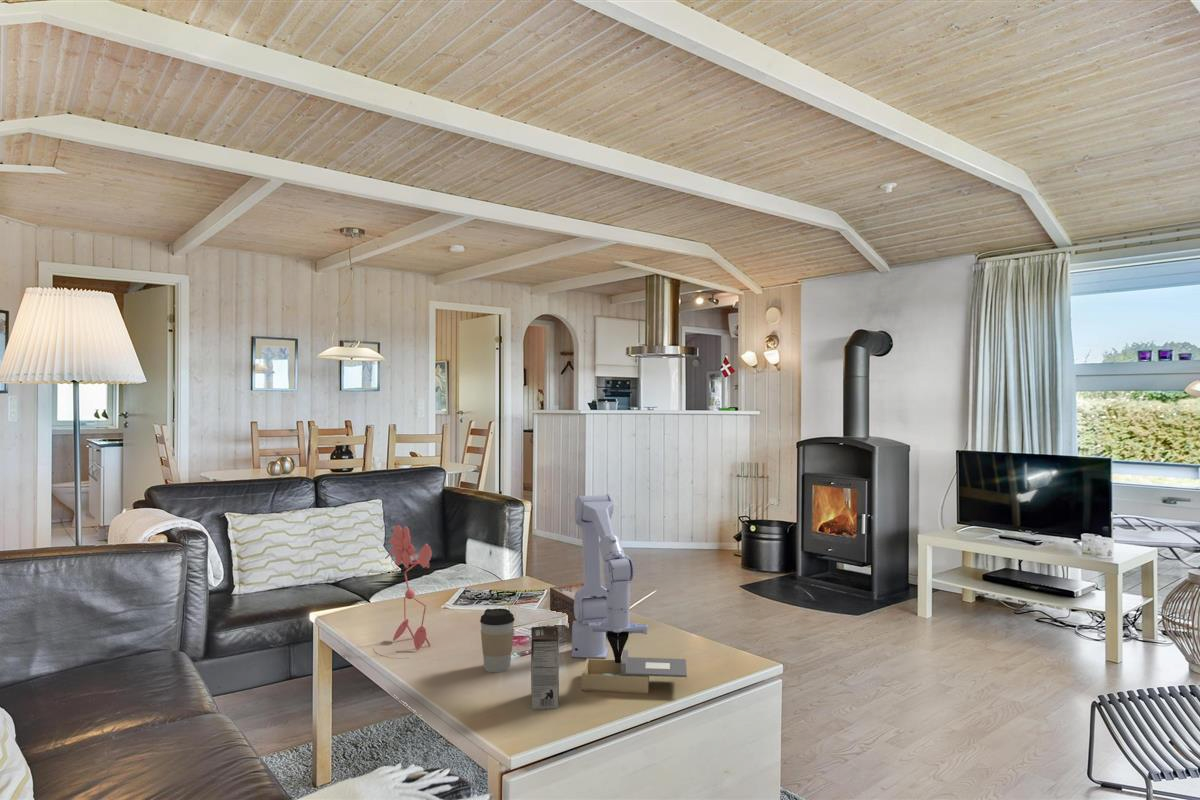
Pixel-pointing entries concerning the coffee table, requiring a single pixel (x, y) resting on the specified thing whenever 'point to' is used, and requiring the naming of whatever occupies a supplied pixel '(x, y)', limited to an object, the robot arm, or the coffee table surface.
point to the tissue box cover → (565, 600)
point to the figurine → (403, 552)
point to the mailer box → (611, 678)
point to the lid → (652, 666)
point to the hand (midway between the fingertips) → (618, 661)
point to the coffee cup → (497, 639)
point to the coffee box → (544, 667)
